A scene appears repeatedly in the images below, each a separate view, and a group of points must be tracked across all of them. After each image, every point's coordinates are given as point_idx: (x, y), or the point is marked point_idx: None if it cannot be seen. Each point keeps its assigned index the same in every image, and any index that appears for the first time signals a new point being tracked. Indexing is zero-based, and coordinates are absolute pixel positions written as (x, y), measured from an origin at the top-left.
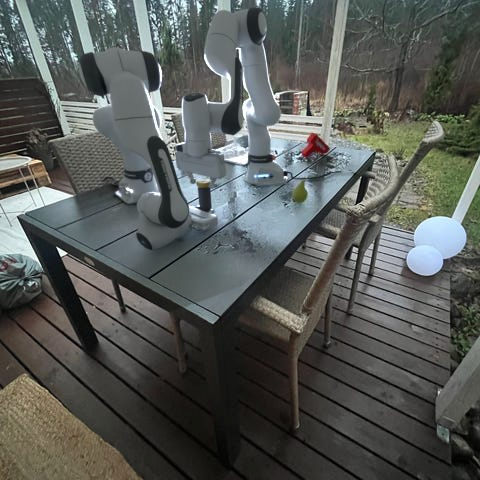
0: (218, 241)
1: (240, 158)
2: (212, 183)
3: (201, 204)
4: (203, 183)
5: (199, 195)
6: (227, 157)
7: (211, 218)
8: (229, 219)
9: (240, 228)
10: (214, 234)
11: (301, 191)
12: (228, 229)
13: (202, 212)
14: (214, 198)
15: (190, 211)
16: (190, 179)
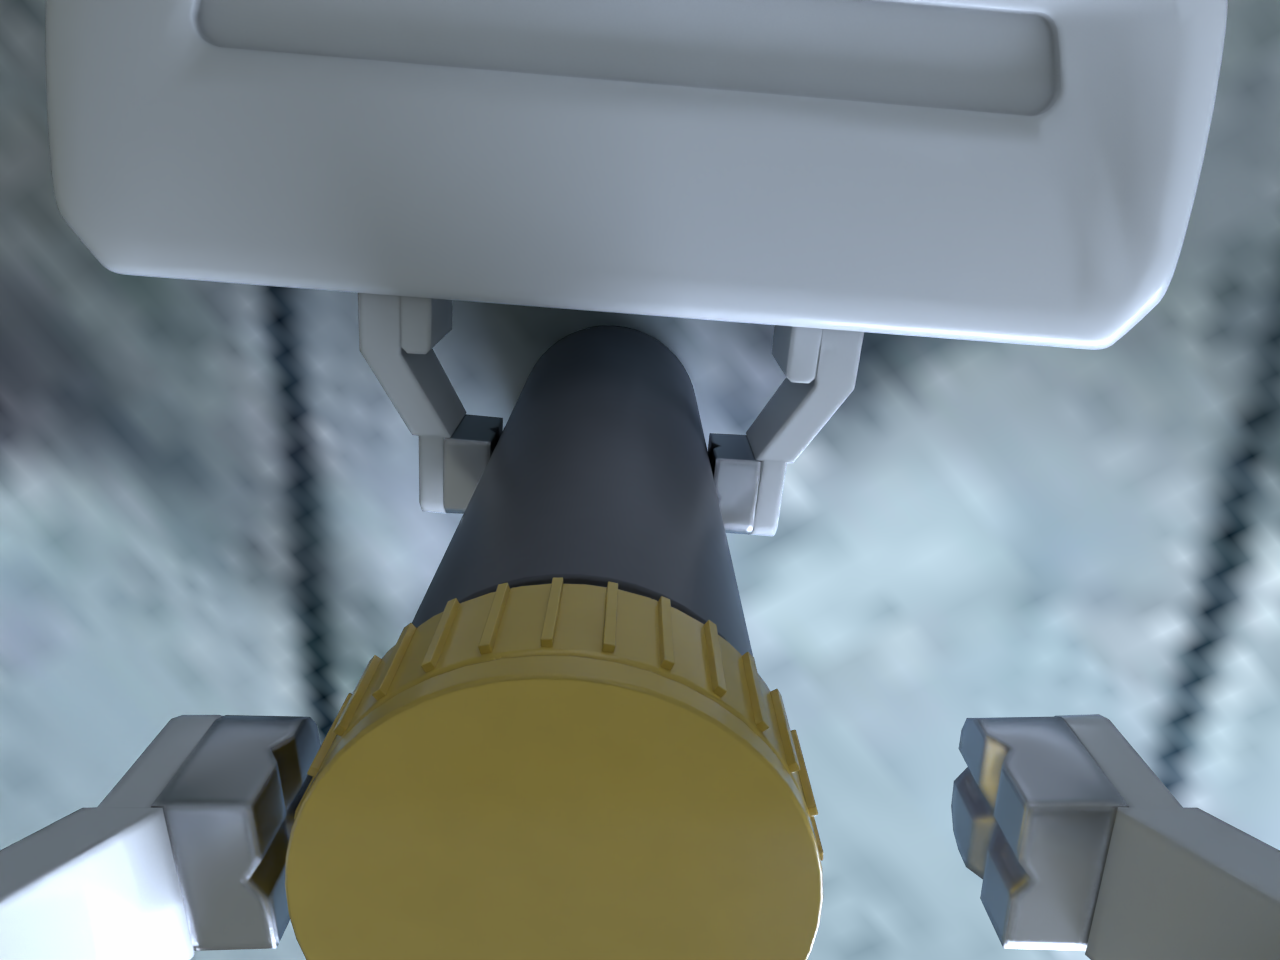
0: None
1: None
2: (43, 853)
3: (588, 412)
4: (371, 722)
5: (622, 487)
6: None
7: (83, 104)
8: (374, 606)
9: (86, 487)
10: None
11: None
12: (191, 380)
13: (425, 223)
14: (927, 951)
15: (676, 125)
16: (1135, 802)
